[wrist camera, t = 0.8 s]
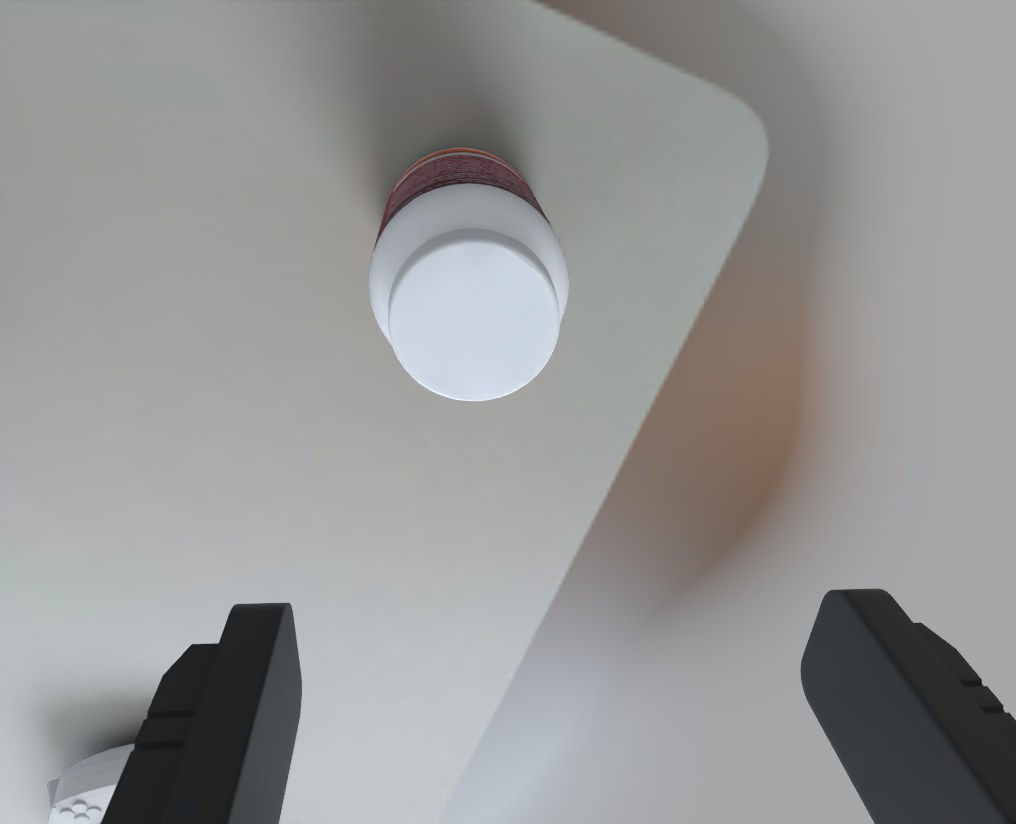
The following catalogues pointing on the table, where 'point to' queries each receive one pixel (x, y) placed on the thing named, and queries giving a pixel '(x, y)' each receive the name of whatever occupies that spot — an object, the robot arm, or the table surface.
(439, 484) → the table surface
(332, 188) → the table surface
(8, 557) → the table surface
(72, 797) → the game controller
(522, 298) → the pill bottle
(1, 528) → the table surface
